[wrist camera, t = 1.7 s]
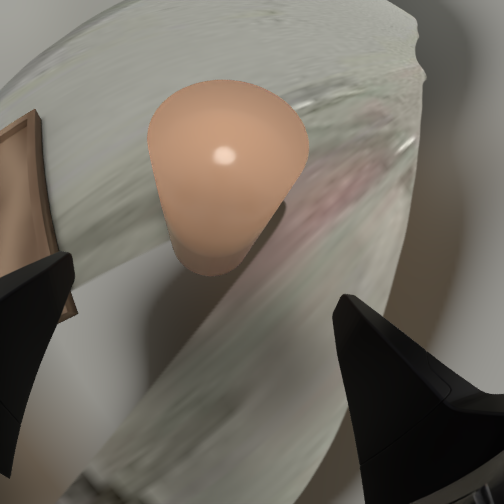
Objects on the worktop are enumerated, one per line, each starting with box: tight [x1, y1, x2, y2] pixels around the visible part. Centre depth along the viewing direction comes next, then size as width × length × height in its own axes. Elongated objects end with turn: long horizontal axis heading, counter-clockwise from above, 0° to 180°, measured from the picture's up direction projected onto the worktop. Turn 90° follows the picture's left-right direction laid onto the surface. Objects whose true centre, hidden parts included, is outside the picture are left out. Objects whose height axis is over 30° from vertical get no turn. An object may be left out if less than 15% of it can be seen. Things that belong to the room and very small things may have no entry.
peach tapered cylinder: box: [147, 80, 309, 276], centre depth 15 cm, size 6×6×12 cm
